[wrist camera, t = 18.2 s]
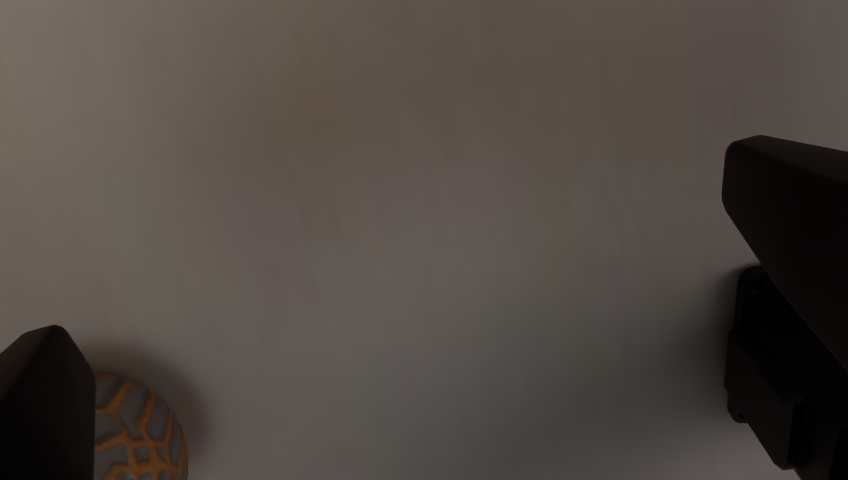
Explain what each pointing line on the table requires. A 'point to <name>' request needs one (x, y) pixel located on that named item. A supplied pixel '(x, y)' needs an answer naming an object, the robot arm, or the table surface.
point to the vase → (135, 433)
